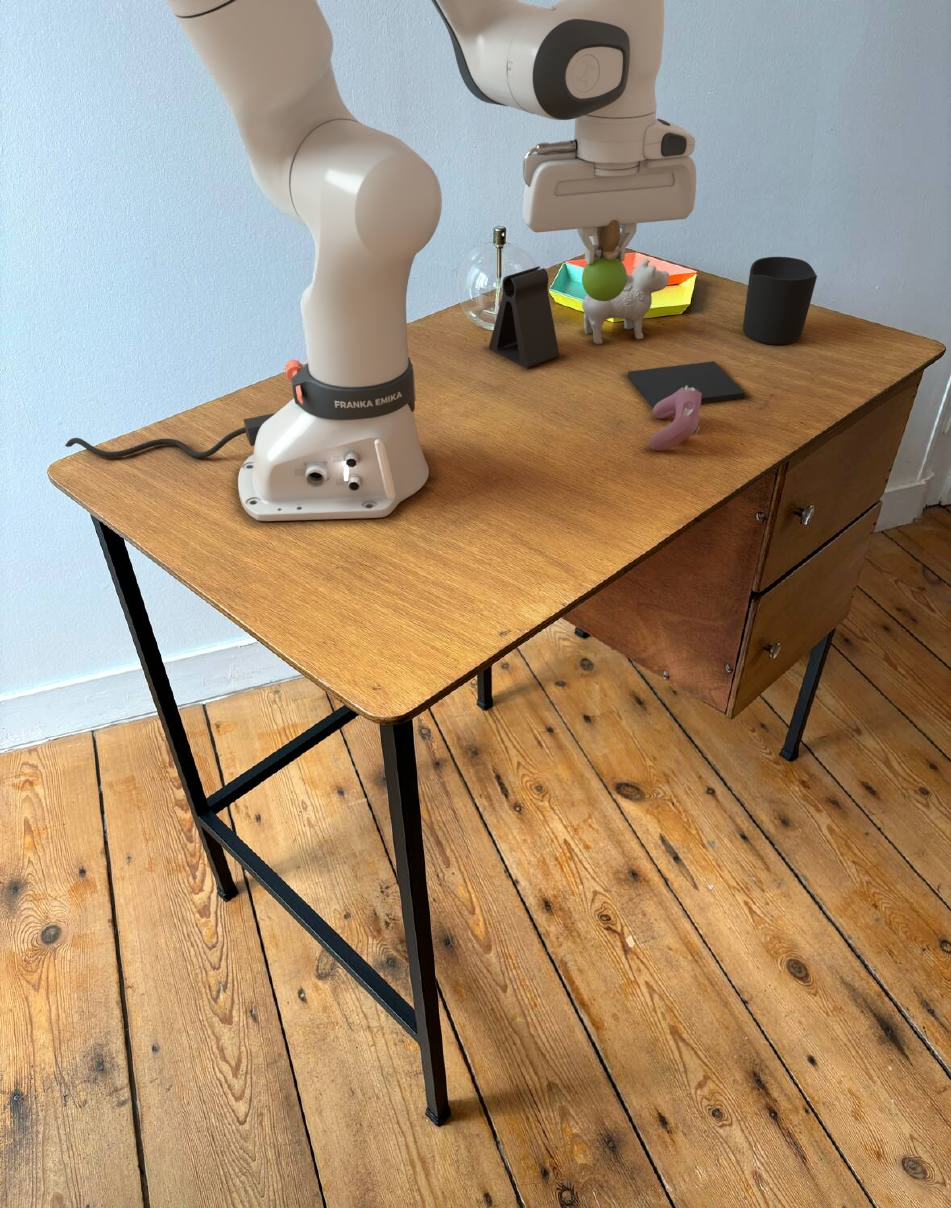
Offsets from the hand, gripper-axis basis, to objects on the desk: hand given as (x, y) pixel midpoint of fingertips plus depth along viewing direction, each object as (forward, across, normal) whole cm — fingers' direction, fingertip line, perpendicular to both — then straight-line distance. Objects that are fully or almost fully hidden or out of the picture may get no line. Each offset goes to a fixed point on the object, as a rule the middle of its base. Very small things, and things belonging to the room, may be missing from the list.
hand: (604, 261), depth 115 cm
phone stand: (+19, -5, +18) cm, 27 cm away
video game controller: (+19, +7, -10) cm, 23 cm away
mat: (+19, +14, +2) cm, 24 cm away
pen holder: (+20, +33, +15) cm, 41 cm away
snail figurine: (+5, 0, 0) cm, 5 cm away
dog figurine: (+20, +11, +21) cm, 31 cm away
